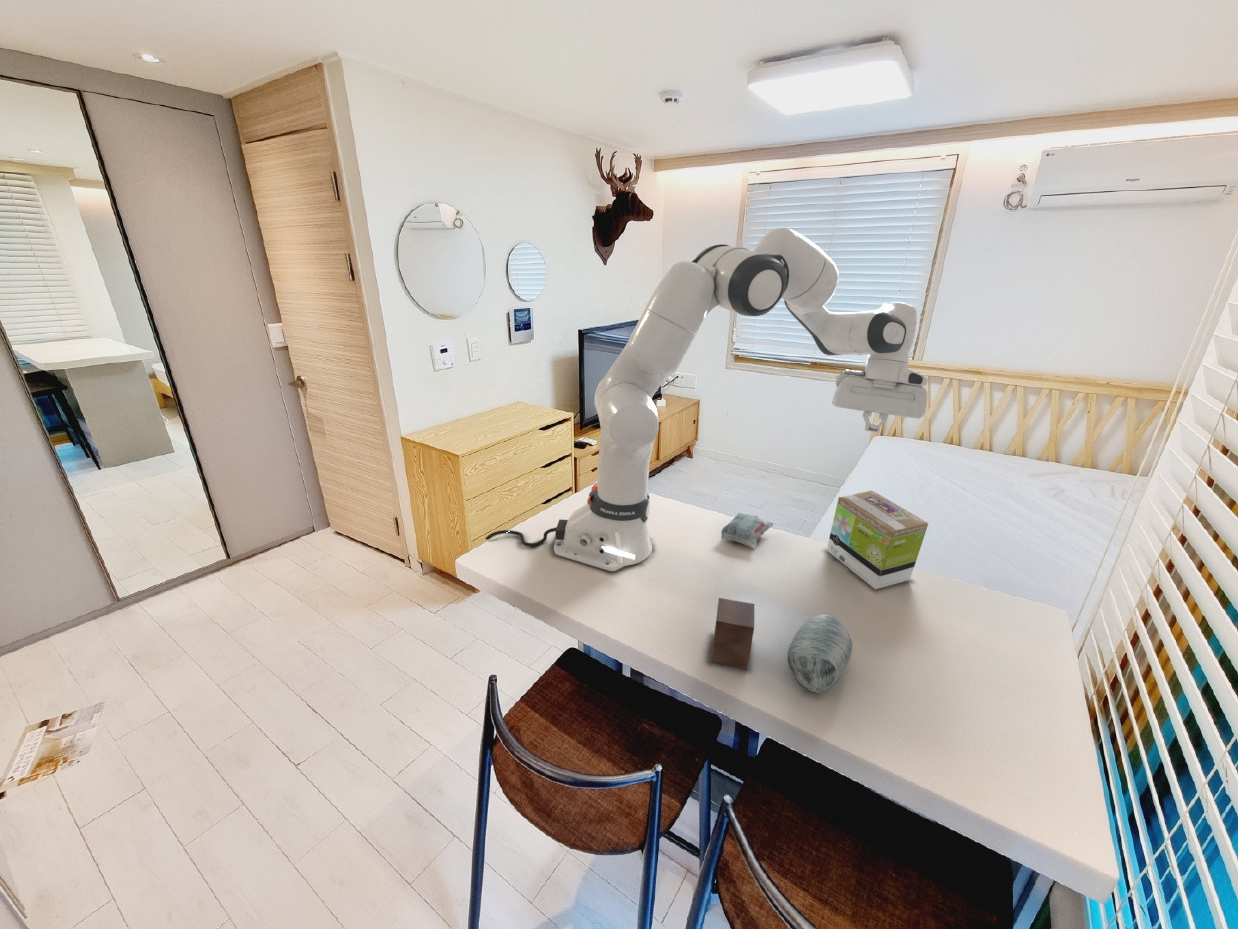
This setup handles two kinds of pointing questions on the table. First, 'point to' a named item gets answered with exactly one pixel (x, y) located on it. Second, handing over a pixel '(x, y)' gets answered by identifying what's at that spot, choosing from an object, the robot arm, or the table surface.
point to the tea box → (876, 538)
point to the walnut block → (733, 633)
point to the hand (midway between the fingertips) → (871, 431)
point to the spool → (819, 652)
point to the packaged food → (745, 529)
